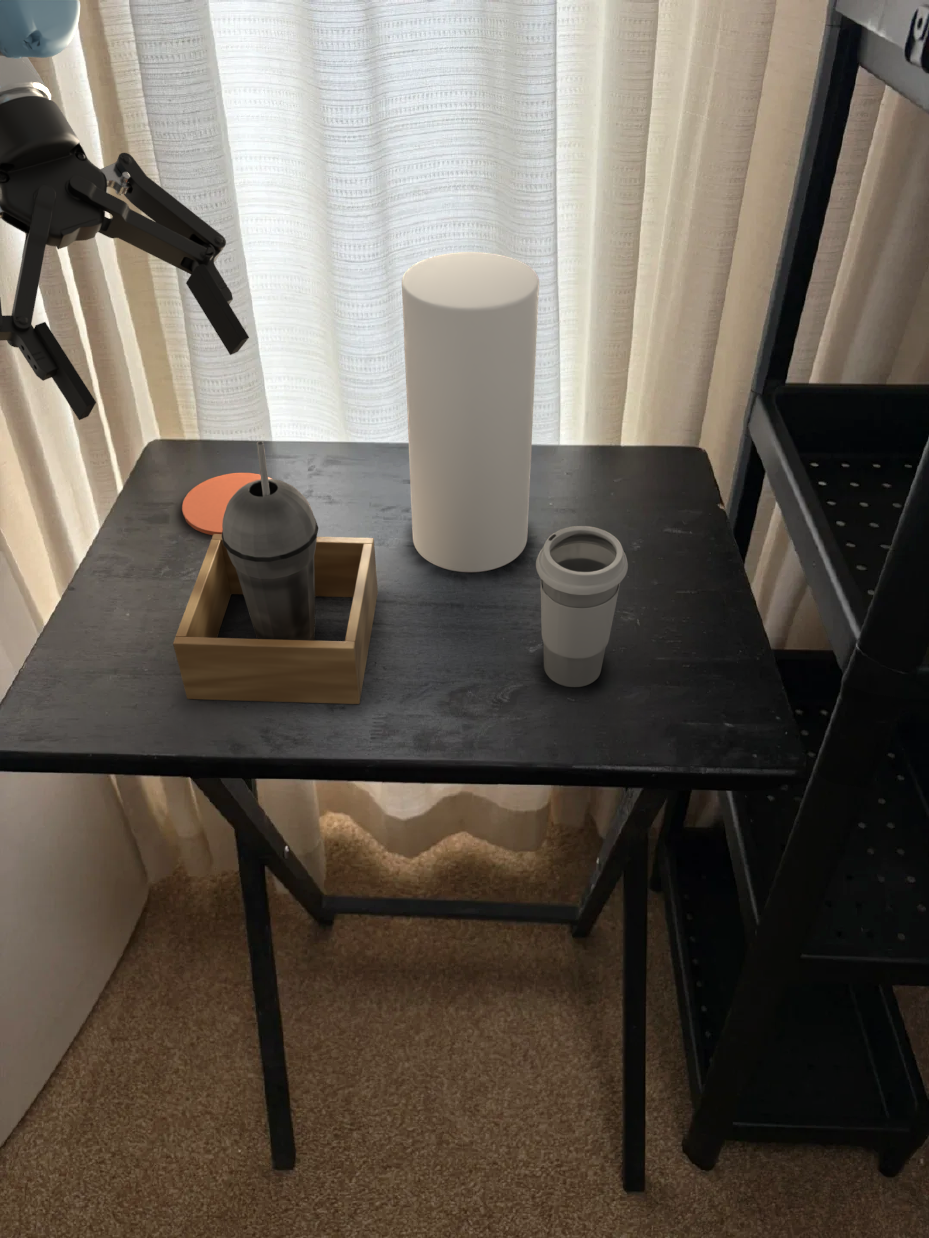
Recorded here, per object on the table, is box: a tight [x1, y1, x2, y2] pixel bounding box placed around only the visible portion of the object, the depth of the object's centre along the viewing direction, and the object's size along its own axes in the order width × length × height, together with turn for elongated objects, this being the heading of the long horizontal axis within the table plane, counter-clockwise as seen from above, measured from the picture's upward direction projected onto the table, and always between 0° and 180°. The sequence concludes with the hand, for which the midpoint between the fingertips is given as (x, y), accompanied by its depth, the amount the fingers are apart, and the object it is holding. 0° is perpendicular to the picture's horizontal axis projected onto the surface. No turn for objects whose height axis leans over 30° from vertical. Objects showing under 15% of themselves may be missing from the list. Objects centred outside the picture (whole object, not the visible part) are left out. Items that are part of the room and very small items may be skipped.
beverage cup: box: [222, 440, 319, 641], centre depth 80 cm, size 7×7×20 cm
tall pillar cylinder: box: [401, 251, 540, 573], centre depth 89 cm, size 11×11×25 cm
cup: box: [535, 525, 629, 688], centre depth 81 cm, size 7×7×12 cm
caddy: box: [172, 534, 379, 705], centre depth 85 cm, size 14×14×6 cm
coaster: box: [181, 472, 273, 536], centre depth 101 cm, size 10×10×1 cm
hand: (167, 378), depth 79 cm, fingers open, 13 cm apart
